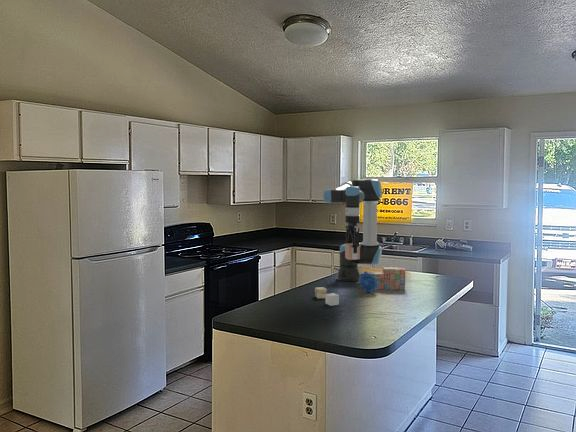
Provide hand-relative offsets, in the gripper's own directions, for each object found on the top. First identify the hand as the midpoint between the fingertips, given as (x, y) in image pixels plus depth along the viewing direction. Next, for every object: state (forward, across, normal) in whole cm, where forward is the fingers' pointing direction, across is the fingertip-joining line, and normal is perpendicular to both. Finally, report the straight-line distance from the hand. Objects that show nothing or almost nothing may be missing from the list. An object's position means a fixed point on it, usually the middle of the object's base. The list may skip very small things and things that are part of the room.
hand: (352, 258), depth 271 cm
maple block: (+22, -6, -16) cm, 28 cm away
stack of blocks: (+23, -19, +29) cm, 41 cm away
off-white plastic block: (+22, +10, -15) cm, 28 cm away
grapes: (+22, -10, +13) cm, 28 cm away
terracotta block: (0, 0, 0) cm, 0 cm away
